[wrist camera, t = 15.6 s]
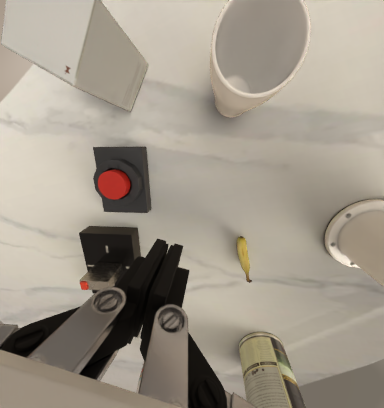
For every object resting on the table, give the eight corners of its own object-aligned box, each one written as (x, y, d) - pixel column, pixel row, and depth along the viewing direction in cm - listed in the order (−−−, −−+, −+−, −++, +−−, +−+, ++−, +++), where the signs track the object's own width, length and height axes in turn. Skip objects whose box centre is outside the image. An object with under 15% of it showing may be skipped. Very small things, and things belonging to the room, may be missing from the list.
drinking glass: (206, 120, 27) (204, 94, 13) (212, 69, 25) (218, -29, 11) (250, 125, 27) (296, 103, 13) (260, 73, 25) (328, -22, 11)
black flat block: (144, 285, 39) (138, 296, 36) (101, 282, 40) (92, 293, 37) (137, 227, 34) (130, 235, 31) (89, 225, 35) (78, 233, 32)
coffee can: (290, 338, 40) (332, 435, 26) (273, 366, 43) (301, 465, 30) (246, 326, 40) (265, 417, 27) (232, 355, 43) (242, 449, 30)
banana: (249, 267, 35) (254, 282, 31) (240, 269, 35) (244, 284, 32) (243, 231, 33) (247, 242, 29) (233, 233, 33) (237, 244, 29)
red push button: (132, 196, 29) (127, 199, 27) (106, 196, 29) (100, 199, 27) (129, 169, 27) (123, 171, 26) (101, 169, 28) (95, 170, 26)
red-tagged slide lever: (122, 263, 34) (107, 283, 29) (123, 271, 34) (108, 292, 29) (97, 261, 34) (78, 281, 29) (98, 269, 35) (80, 290, 30)
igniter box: (151, 208, 33) (144, 216, 29) (110, 207, 34) (98, 215, 30) (146, 146, 30) (137, 147, 26) (100, 147, 30) (85, 147, 26)
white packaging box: (150, 64, 26) (99, -7, 14) (130, 113, 28) (73, 89, 16) (104, 35, 25) (10, -64, 13) (88, 88, 28) (-4, 44, 16)
